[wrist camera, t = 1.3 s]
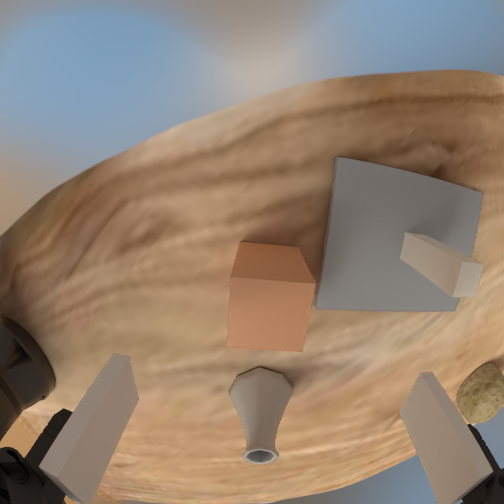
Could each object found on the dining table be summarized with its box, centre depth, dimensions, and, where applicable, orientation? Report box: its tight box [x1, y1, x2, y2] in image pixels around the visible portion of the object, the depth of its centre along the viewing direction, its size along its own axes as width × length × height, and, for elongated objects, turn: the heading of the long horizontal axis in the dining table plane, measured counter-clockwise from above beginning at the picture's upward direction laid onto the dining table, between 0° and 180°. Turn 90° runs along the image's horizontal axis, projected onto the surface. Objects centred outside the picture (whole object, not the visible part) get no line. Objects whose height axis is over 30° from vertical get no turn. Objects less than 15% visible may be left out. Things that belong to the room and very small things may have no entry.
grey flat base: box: [314, 157, 484, 312], centre depth 20 cm, size 18×14×10 cm
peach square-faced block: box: [227, 242, 316, 352], centre depth 22 cm, size 5×5×9 cm
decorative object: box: [457, 363, 504, 423], centre depth 28 cm, size 9×10×10 cm
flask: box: [228, 367, 293, 465], centre depth 25 cm, size 7×7×10 cm
